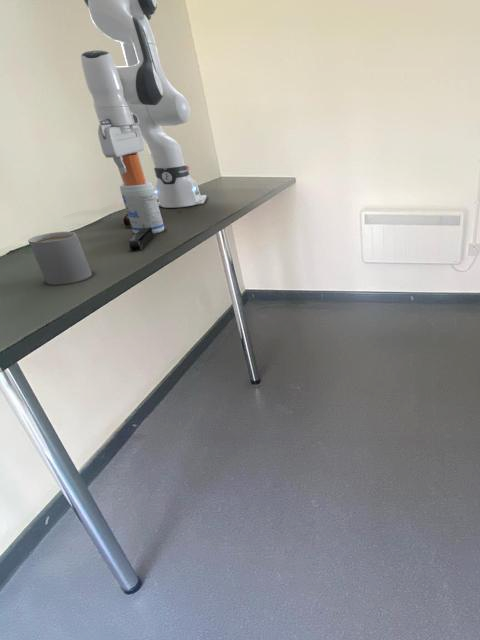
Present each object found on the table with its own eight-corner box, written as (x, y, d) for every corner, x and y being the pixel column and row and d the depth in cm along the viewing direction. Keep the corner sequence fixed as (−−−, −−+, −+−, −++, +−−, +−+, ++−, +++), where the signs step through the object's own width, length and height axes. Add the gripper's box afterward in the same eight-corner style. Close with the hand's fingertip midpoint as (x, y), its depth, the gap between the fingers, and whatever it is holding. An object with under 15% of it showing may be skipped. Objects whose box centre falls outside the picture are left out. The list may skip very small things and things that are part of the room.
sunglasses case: (151, 224, 165) (135, 207, 161) (136, 236, 166) (119, 220, 162) (160, 213, 180) (145, 198, 176) (146, 225, 181) (131, 209, 177)
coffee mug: (84, 282, 116) (68, 240, 111) (39, 286, 115) (20, 244, 109) (101, 266, 127) (86, 226, 122) (60, 269, 126) (43, 230, 120)
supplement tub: (127, 234, 156) (111, 185, 148) (149, 227, 163) (135, 180, 155) (150, 236, 153) (134, 186, 145) (172, 229, 160) (158, 181, 152)
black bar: (140, 251, 139) (137, 240, 137) (131, 251, 138) (127, 241, 136) (154, 235, 153) (151, 226, 152) (146, 236, 153) (142, 226, 151)
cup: (129, 182, 153) (120, 154, 148) (149, 181, 153) (141, 153, 148) (120, 185, 147) (110, 156, 143) (141, 184, 147) (132, 155, 143)
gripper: (109, 120, 132) (126, 175, 139) (140, 116, 149) (154, 165, 156) (86, 121, 132) (104, 176, 139) (119, 117, 149) (134, 166, 156)
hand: (131, 170), depth 148 cm, fingers open, 8 cm apart
